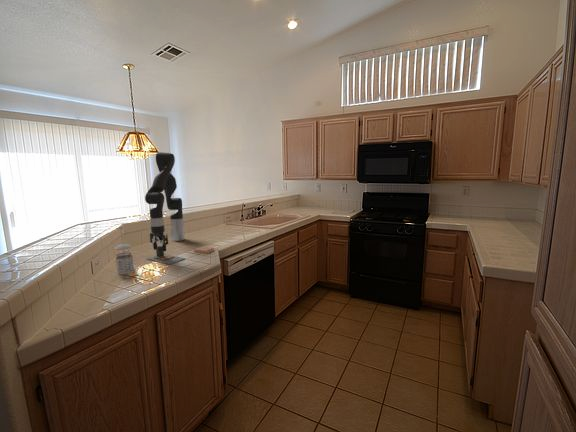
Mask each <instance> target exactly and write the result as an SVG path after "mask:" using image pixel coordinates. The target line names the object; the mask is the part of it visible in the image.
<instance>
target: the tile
mask: <svg viewBox="0 0 576 432" xmlns="http://www.w3.org/2000/svg"><path fill="white" fill-rule="evenodd" d="M193 251H194V253H197V254H203V255H207V254H210V253H213V252H214V251H215V247H212V246H211V247H210V246H200V247H197V248H194V249H193Z"/></svg>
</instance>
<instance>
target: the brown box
mask: <svg viewBox="0 0 576 432" xmlns="http://www.w3.org/2000/svg"><path fill="white" fill-rule="evenodd" d="M155 252H156V255H157V256H156V255H155V256H156V257H154V259H159V260H163V261H165V260H168V259H171V258H174V256H175V255H171V254H166V255H165V251H162V245H157V247H156V250H155ZM170 255H171V256H170Z"/></svg>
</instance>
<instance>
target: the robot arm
mask: <svg viewBox="0 0 576 432" xmlns="http://www.w3.org/2000/svg"><path fill="white" fill-rule="evenodd" d="M175 158H176V157H175V155H174V153H171V152H164V151H163V152H162V151H159V152H157V153H156V154H155V163H156V166H157V169H158V171H159V173H158V174H157V175H156V176H155V177H154V179H153V181H152V185H151V187H150V188H149V189H148V191H147V192H146V193H145V195H144V200H145V203H147V204H148V205H156V207H152V208H150V209H149V216H150V217H149V218H150V220H149V221H150V232H151V233H149V242H150V243H151V244H152V247H153V250H155V251H156V247H158V242H159V243H160V245H161V246H162V251H164V252H166V251H167V246H168V245H169V238H168V234H164V233H165V232H166V231H165V220H164V216H163V215H164V214H163V208H164V204H165V202H166V206H167V209H168V210H169V211H176V212H175V213H172V214H171V215H170V216H169V218H170V227H171V228H170V239H171V241H173V242H181V241H185V227H184V215H183V200H182V198H181V197H172V196H173V194H174V193H175V192H176V190H177V188H178V184H177V180H176V178H175V176H174V175H173V174H172V173H171V172H172V171H173V168H174V165H175V161H176V159H175ZM162 192H164V193H162Z"/></svg>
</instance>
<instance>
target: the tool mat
mask: <svg viewBox="0 0 576 432" xmlns="http://www.w3.org/2000/svg"><path fill="white" fill-rule="evenodd" d="M164 254H165V253H164ZM165 255H167V254H165ZM169 255H170V256H172V255H171V254H169ZM156 256H157V254H156V255H153V256H149V257H147V258H146V260H148V261H153V262H158V263H161V264H165V265H173V264H176V263H179V262H181V261H185V260H186V258H185V257H181V256H176V255H173V256H174V258H171V259H168V260H165V261H163V260H159V259H154V257H156Z"/></svg>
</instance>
